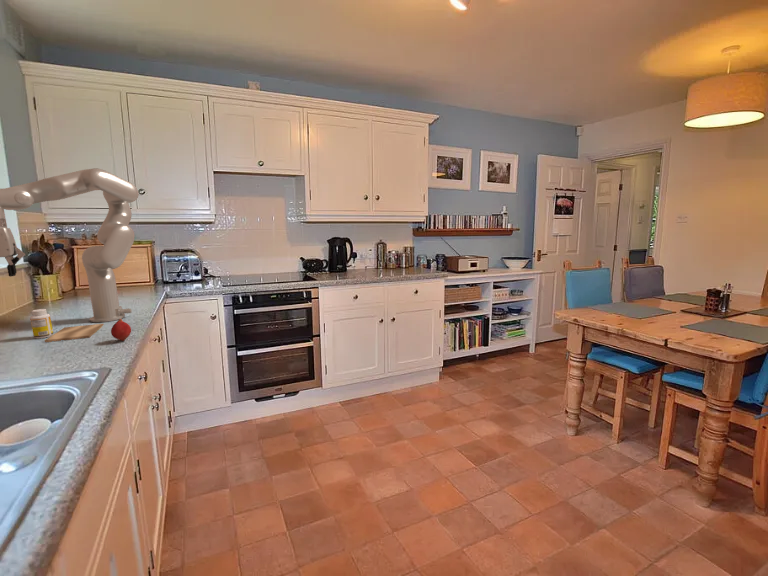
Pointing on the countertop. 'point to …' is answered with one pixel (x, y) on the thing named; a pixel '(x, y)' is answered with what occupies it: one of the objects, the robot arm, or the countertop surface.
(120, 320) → the onion
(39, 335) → the supplement bottle
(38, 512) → the countertop surface
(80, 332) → the wooden cutting board
